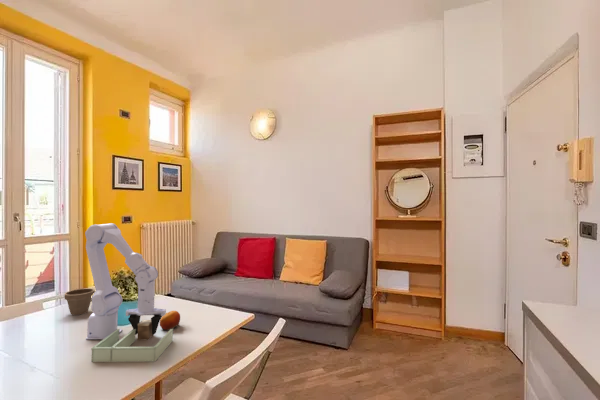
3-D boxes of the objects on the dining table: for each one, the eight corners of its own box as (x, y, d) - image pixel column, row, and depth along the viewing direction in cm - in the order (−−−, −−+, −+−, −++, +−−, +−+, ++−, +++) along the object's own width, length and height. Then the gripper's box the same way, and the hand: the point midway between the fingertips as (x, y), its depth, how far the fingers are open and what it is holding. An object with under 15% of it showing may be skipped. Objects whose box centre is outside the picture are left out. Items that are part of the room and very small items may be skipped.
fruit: (176, 329, 118) (168, 311, 119) (161, 337, 119) (153, 320, 120) (188, 321, 126) (180, 305, 127) (174, 329, 127) (166, 313, 128)
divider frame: (90, 362, 96) (91, 348, 96) (116, 341, 110) (117, 329, 110) (155, 361, 97) (155, 348, 97) (172, 340, 111) (173, 329, 111)
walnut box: (137, 339, 112) (137, 324, 112) (142, 335, 116) (142, 319, 116) (148, 339, 112) (148, 324, 112) (153, 335, 116) (153, 319, 116)
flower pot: (74, 308, 143) (75, 287, 143) (99, 308, 144) (99, 287, 144) (57, 317, 131) (58, 295, 132) (84, 317, 133) (85, 294, 133)
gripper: (121, 302, 110) (120, 338, 109) (160, 302, 110) (159, 338, 110) (131, 296, 117) (130, 330, 116) (168, 296, 117) (167, 330, 117)
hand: (145, 333), depth 114 cm, fingers open, 6 cm apart
